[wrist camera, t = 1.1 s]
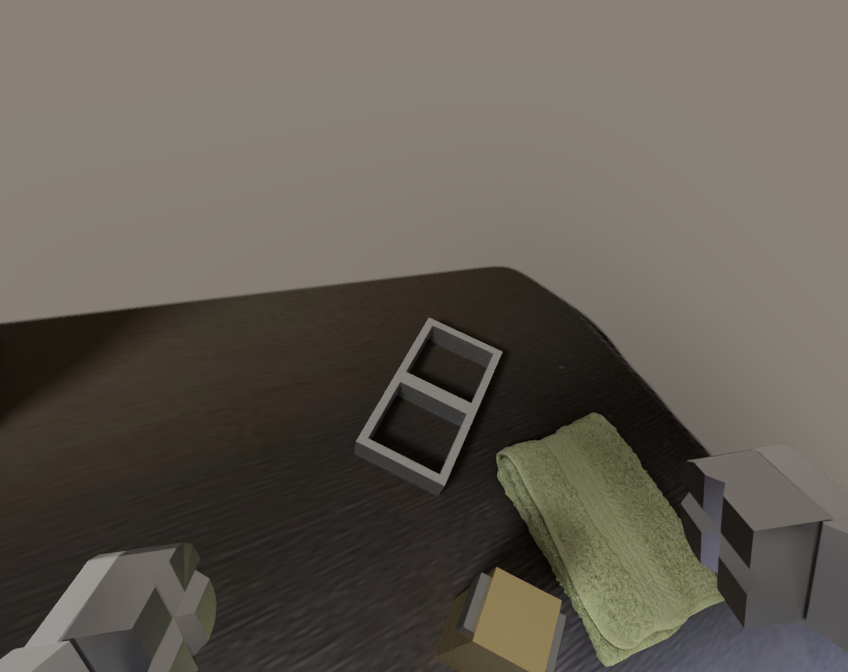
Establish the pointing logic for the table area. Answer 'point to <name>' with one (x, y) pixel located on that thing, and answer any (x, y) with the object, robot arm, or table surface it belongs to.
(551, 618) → the pale yellow rectangular block
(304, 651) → the table surface
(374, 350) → the table surface
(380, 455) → the rack frame
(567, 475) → the washcloth
